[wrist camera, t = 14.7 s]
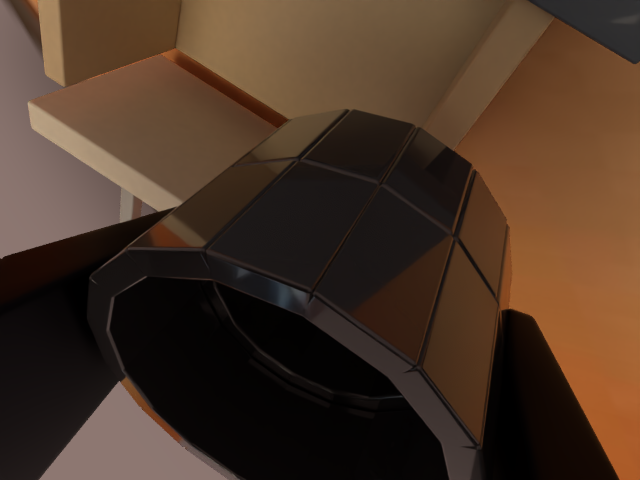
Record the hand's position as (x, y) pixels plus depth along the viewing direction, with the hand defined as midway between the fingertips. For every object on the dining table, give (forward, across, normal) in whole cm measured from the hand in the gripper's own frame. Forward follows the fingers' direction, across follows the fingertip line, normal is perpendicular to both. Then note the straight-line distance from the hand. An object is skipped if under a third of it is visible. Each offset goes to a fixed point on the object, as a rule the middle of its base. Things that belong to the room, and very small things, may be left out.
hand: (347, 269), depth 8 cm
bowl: (+1, 0, 0) cm, 1 cm away
